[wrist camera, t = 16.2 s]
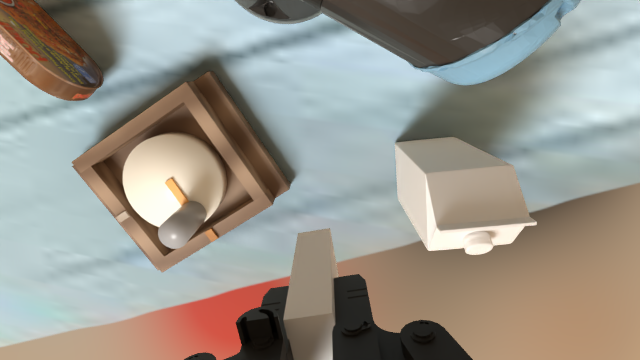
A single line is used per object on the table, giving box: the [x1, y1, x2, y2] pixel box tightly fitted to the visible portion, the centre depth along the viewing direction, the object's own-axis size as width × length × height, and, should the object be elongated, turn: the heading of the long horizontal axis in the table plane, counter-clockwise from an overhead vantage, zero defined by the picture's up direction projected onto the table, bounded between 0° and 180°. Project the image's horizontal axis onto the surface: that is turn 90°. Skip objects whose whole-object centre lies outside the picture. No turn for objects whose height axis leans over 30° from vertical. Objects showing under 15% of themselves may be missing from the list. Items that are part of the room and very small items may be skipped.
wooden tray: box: [72, 71, 290, 272], centre depth 45 cm, size 16×20×5 cm
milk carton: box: [395, 137, 537, 255], centre depth 38 cm, size 7×7×19 cm
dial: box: [123, 132, 227, 249], centre depth 41 cm, size 11×11×8 cm
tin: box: [0, 0, 103, 101], centre depth 40 cm, size 15×3×8 cm, turn 41°
